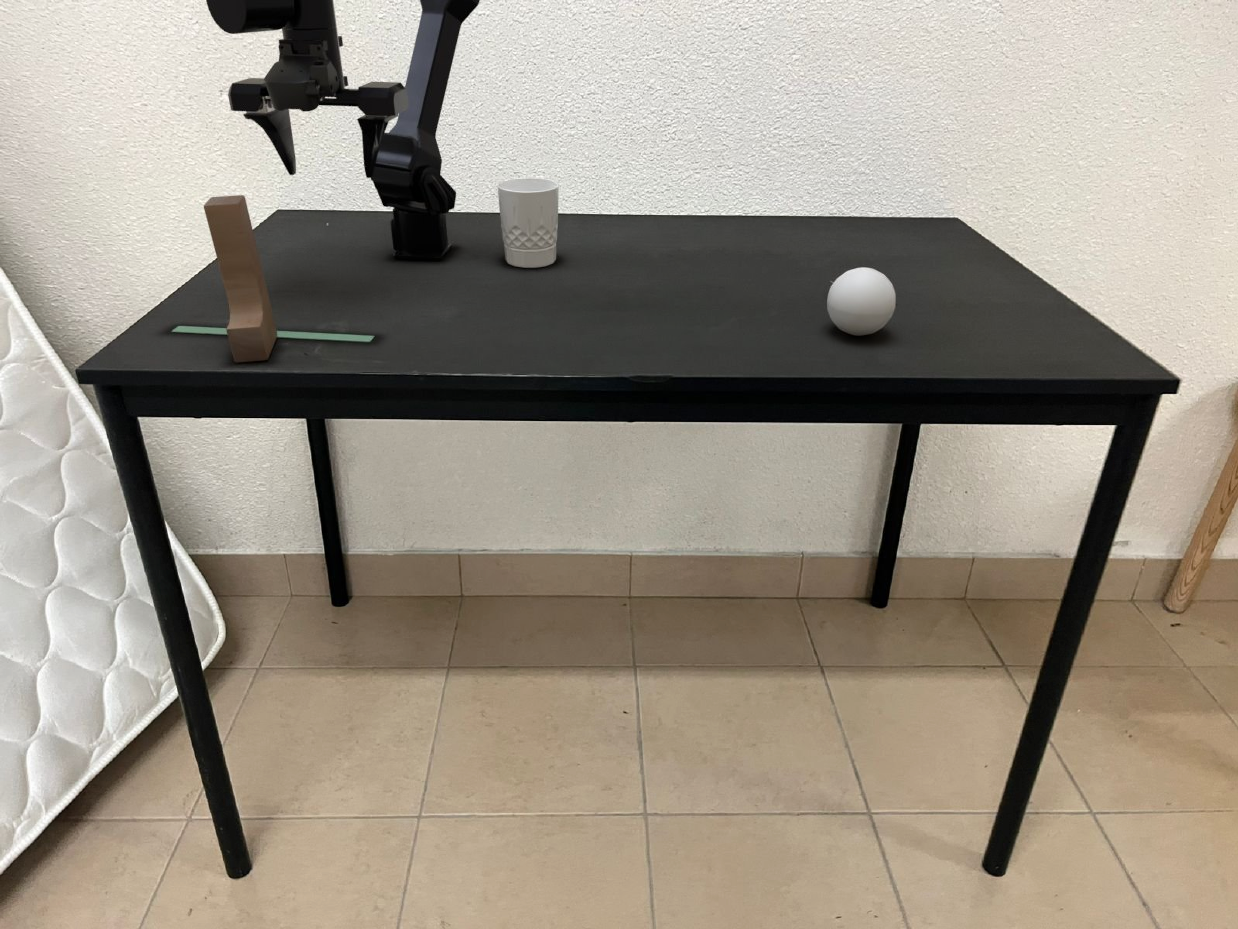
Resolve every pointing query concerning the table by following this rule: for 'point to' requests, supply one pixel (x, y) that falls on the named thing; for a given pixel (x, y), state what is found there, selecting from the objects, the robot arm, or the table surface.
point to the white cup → (529, 220)
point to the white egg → (861, 301)
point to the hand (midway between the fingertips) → (330, 175)
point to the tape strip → (280, 334)
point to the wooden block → (241, 279)
